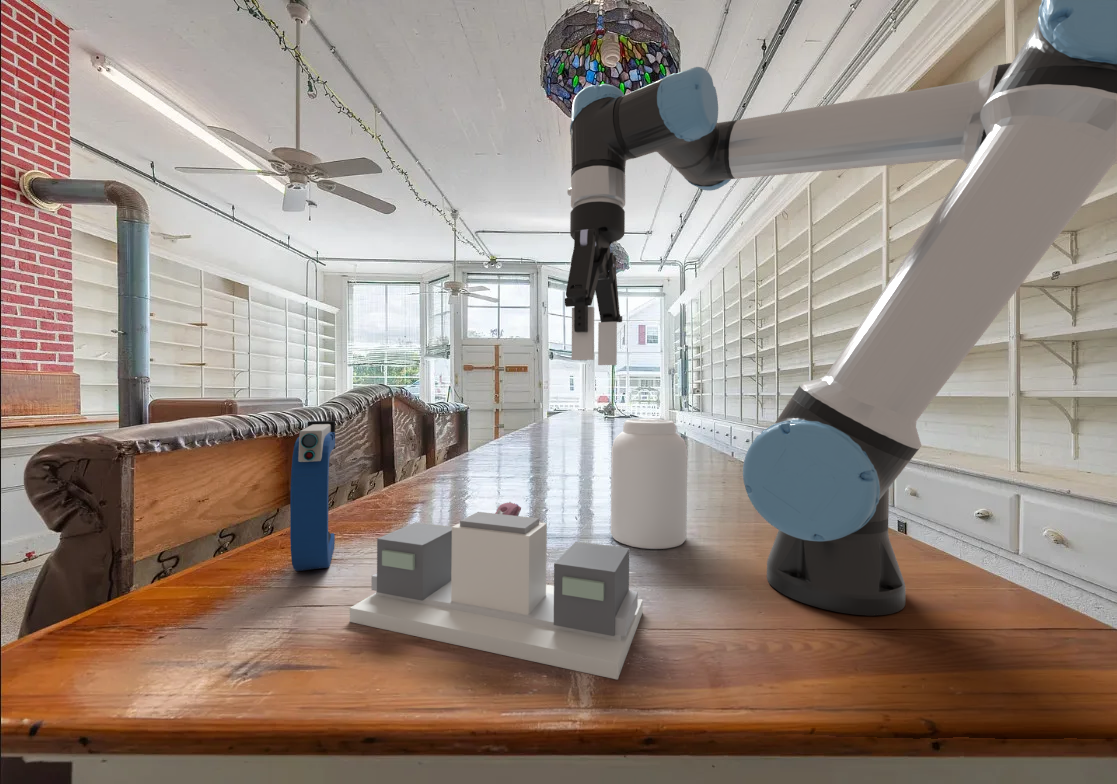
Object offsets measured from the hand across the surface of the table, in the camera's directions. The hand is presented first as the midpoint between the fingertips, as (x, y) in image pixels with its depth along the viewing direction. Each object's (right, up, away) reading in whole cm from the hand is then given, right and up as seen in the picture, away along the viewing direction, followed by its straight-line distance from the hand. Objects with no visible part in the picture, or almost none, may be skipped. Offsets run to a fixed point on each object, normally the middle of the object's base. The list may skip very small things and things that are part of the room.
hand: (596, 362), depth 66 cm
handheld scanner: (-40, -29, +2) cm, 49 cm away
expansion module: (-12, -27, -14) cm, 32 cm away
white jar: (+10, -29, +14) cm, 34 cm away
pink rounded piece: (-15, -29, +14) cm, 35 cm away
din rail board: (-12, -29, -14) cm, 34 cm away
